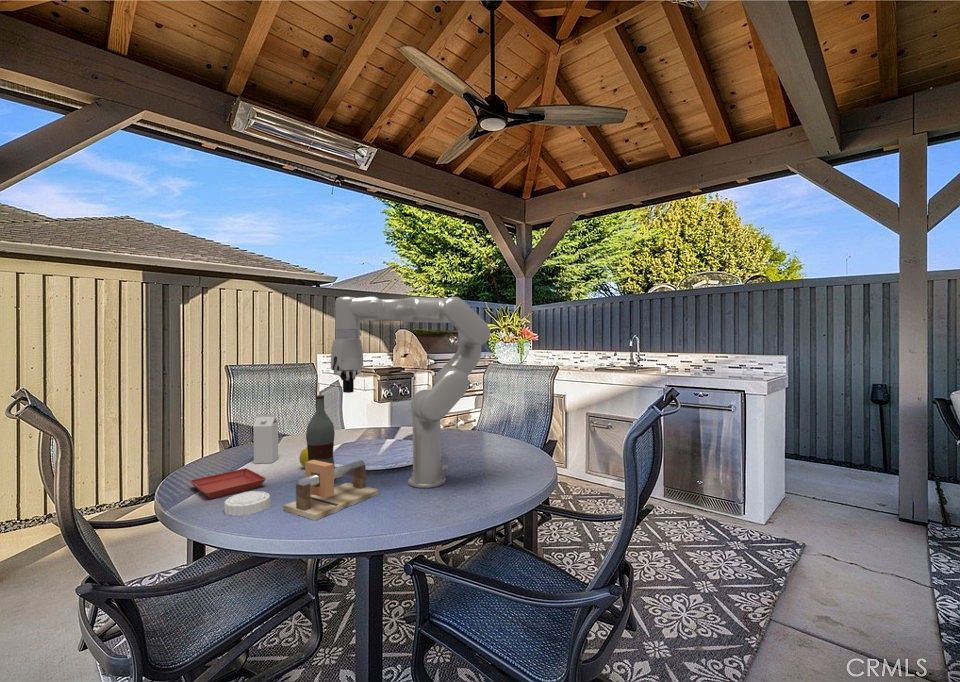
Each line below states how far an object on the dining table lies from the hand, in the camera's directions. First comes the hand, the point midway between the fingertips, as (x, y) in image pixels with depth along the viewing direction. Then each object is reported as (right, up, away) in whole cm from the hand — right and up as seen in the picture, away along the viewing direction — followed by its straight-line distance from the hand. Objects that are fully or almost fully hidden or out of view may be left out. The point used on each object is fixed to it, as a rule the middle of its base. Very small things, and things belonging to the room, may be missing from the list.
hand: (348, 392), depth 145 cm
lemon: (-23, -32, +27) cm, 48 cm away
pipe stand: (-2, -32, -9) cm, 33 cm away
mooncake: (-26, -33, -13) cm, 44 cm away
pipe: (-2, -25, -9) cm, 27 cm away
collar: (-5, -28, -13) cm, 31 cm away
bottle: (-12, -32, +9) cm, 36 cm away
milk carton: (-44, -32, +37) cm, 66 cm away
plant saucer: (-42, -33, +5) cm, 53 cm away
